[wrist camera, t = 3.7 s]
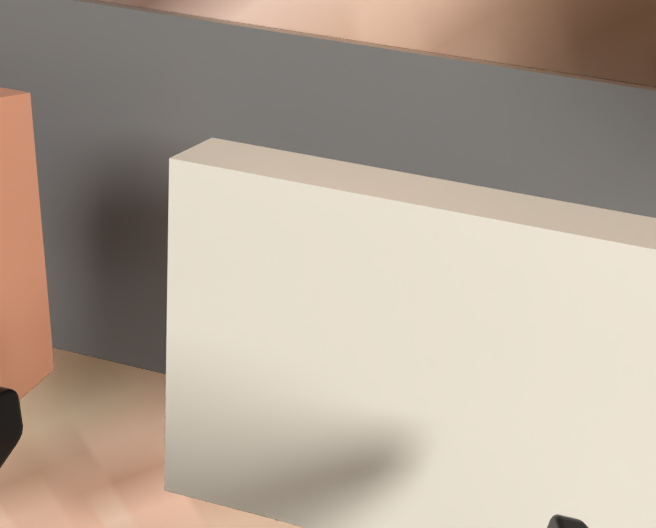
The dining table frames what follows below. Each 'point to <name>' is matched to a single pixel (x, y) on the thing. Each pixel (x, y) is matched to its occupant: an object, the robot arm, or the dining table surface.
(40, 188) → the key panel
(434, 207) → the cream rectangular block
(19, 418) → the robot arm
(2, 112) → the terracotta key
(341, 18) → the dining table surface
